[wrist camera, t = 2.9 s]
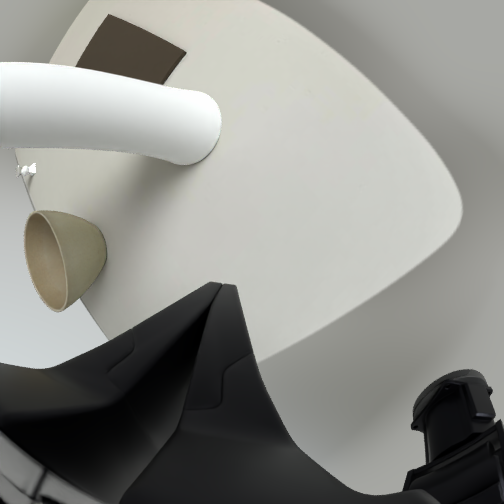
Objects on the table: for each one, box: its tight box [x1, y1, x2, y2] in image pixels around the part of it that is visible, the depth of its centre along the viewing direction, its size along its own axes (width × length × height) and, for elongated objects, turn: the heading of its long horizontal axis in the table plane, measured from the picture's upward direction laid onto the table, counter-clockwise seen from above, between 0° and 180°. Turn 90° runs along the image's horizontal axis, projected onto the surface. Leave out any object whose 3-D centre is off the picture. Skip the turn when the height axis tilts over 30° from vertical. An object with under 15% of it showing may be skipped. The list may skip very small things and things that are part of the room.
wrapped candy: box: [16, 163, 35, 177], centre depth 28 cm, size 2×2×3 cm
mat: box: [76, 14, 186, 85], centre depth 20 cm, size 16×10×1 cm, turn 48°
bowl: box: [24, 211, 107, 312], centre depth 23 cm, size 10×10×7 cm
